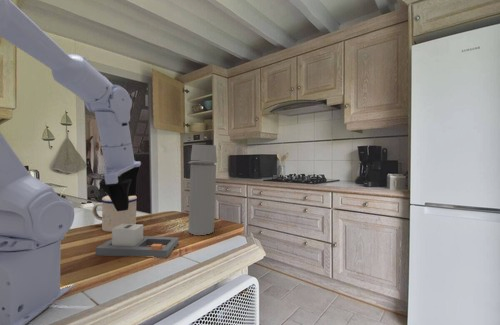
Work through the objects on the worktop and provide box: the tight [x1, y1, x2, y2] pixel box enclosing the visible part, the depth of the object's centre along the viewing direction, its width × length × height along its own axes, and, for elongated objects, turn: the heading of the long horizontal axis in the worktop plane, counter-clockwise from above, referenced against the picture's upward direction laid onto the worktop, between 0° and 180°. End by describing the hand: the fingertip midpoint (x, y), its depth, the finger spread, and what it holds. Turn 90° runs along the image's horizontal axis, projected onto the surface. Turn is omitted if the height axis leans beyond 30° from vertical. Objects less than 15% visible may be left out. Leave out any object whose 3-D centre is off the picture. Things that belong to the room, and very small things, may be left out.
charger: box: [111, 223, 144, 246], centre depth 53 cm, size 4×5×5 cm
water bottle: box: [187, 144, 218, 236], centre depth 67 cm, size 9×8×25 cm
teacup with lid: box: [92, 195, 138, 233], centre depth 68 cm, size 12×9×12 cm
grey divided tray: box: [95, 235, 180, 259], centre depth 54 cm, size 8×15×3 cm, turn 90°
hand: (127, 202), depth 54 cm, fingers open, 7 cm apart
